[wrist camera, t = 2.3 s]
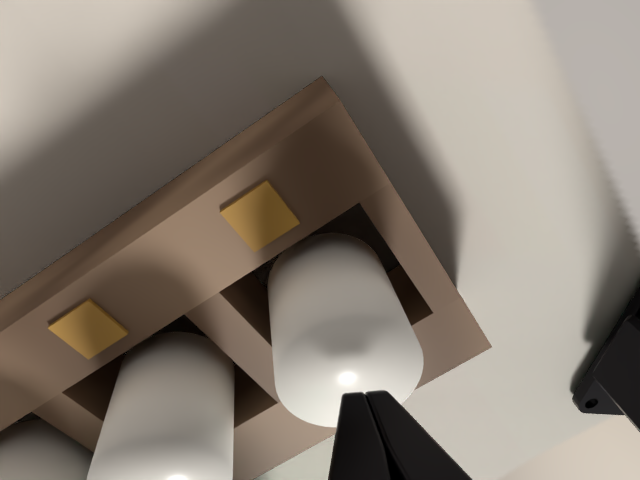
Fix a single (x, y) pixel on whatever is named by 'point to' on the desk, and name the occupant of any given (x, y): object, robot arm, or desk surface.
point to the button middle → (169, 413)
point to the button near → (337, 328)
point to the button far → (41, 453)
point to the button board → (220, 280)
